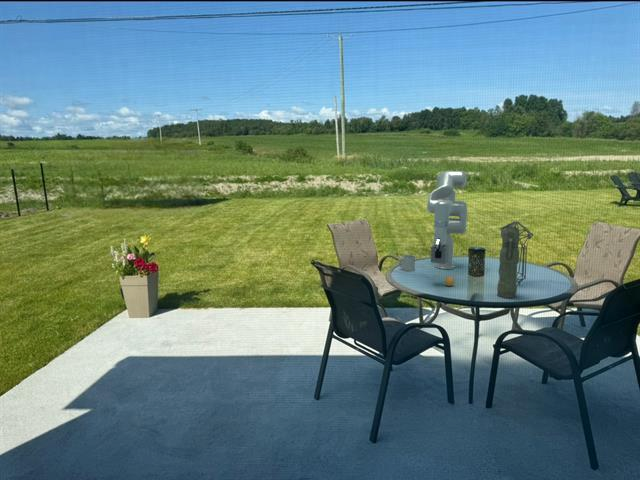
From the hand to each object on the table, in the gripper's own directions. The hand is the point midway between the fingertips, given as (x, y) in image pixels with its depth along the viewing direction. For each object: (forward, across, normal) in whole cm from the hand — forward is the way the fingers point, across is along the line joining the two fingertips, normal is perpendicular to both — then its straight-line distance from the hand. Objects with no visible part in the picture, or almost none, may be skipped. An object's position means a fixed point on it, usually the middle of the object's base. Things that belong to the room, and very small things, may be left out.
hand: (439, 256), depth 245 cm
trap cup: (+3, 0, 0) cm, 3 cm away
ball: (+13, 0, +6) cm, 15 cm away
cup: (+16, -25, -26) cm, 39 cm away
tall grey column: (+16, +5, +35) cm, 39 cm away
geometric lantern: (+16, -21, +36) cm, 44 cm away
